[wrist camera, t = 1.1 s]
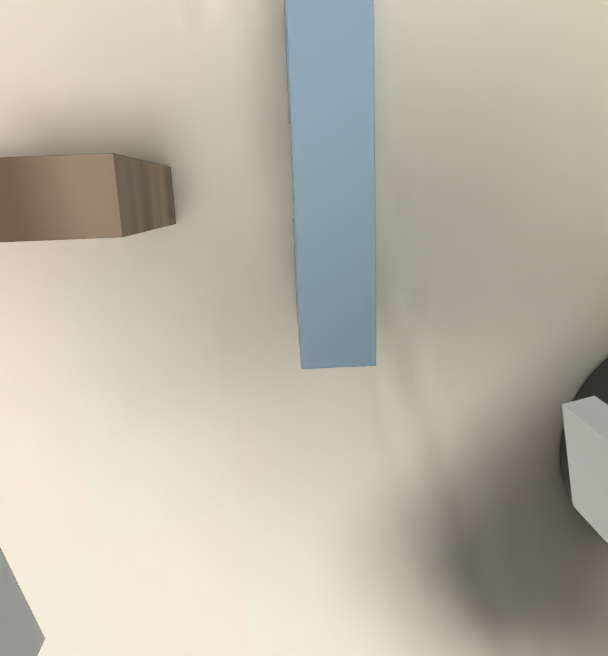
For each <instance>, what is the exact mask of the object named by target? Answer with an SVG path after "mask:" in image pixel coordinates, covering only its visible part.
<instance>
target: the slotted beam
mask: <svg viewBox="0 0 608 656" xmlns="http://www.w3.org/2000/svg"><path fill="white" fill-rule="evenodd" d="M172 224H176V221H175V210H174V199H173V189H172V178H171V167H168V166H164V165H159V164H155V163H151V162H147V161H143V160H138V159H134V158H130V157H126V156H122V155H118V154H113V153H110V154H83V155H57V156H31V157H4V158H0V242H16V241H41V240H65V239H90V238H114V237H125V236H129V235H133V234H137V233H141V232H145V231H149V230H153V229H157V228H161V227H165V226H168V225H172Z"/></svg>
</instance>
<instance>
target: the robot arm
mask: <svg viewBox="0 0 608 656" xmlns="http://www.w3.org/2000/svg"><path fill="white" fill-rule="evenodd" d="M562 411H563V420H564V428H563V433H562V438H561V446H560V464H561V472H562V476H563V480H564V484H565V487H566V489H567V492H568V494H569V496H570V498H571V500H572V503H573V506H574V507H575V508H576V510H577V511H578V512H579V513H580V514H581V515H582V516H583V517H584V518H585V519H586V521H587V522H588V523H589V524H590V525H591V526H592V527H593V528H594V529H595V530H596V531H597V533H598V534H599V535H600V536H601V537H602V538H603V539H604V540H605V541H606V542H607V544H608V359H607V360H606V361H605V362H604V363H603V364H602V365H601V366H600V367H599V368H598V369H597V370H596V371H595V372H594V373H593V374H592V375H591V377H590V378H589V379H588V380H587V382H586V383H585V384H584V386H583V387H582V389H581V390H580V392H579V393H578V395H577V397H576V398H575V400H574V401H572V402H568V403H564V404H562ZM44 640H45V638H44V636H43V634H42V632H41V629H40V627H39V625H38V623H37V621H36V619H35V617H34V615H33V613H32V611H31V609H30V607H29V605H28V603H27V601H26V599H25V597H24V595H23V593H22V591H21V589H20V587H19V585H18V583H17V580H16V578H15V576H14V574H13V572H12V570H11V568H10V566H9V564H8V562H7V560H6V558H5V556H4V554H3V552H2V550H1V548H0V656H37V655H38V653H39V651H40V649H41V646H42V644H43V642H44Z"/></svg>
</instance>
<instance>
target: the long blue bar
mask: <svg viewBox="0 0 608 656" xmlns="http://www.w3.org/2000/svg"><path fill="white" fill-rule="evenodd" d="M284 12H285V36H286V60H287V83H288V107H289V123H290V133H291V157H292V180H293V204H294V219H293V225H294V249H295V272H296V296H297V318H298V330H299V343H300V355H301V368H302V369H312V368H334V367H356V366H376V282H375V147H374V12H373V0H284Z"/></svg>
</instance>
